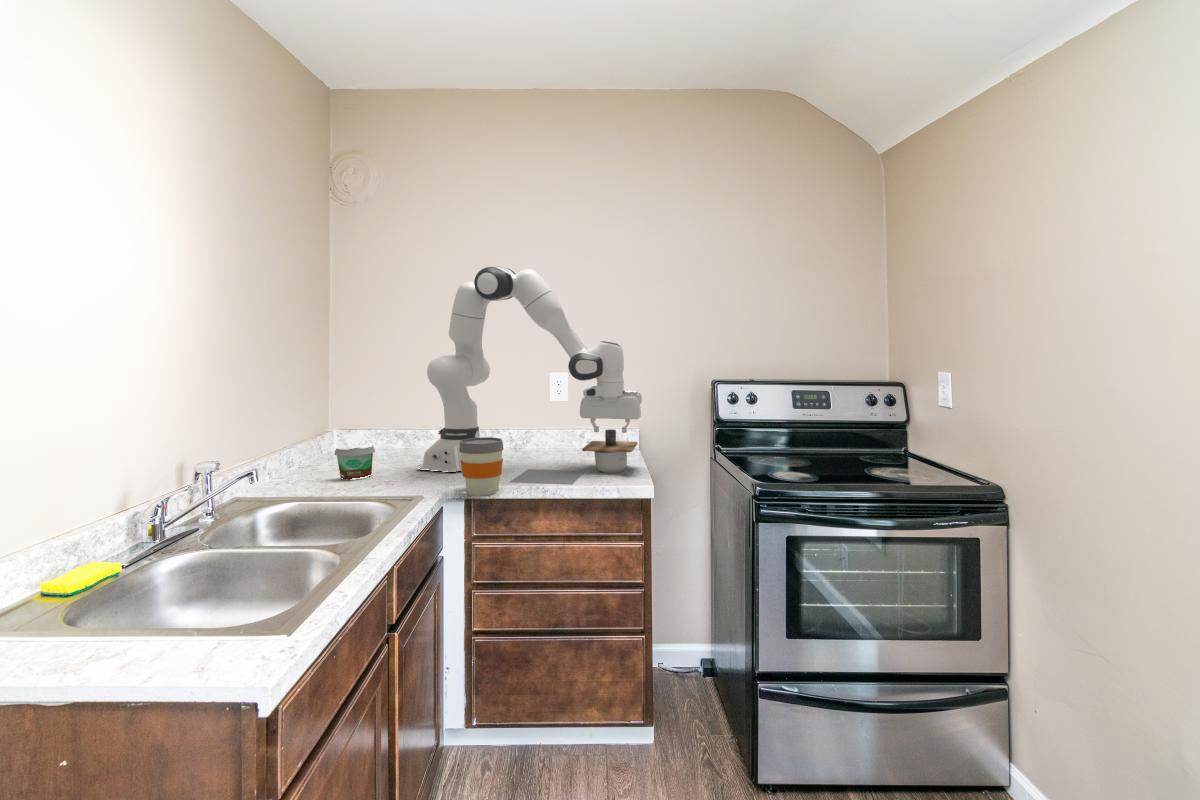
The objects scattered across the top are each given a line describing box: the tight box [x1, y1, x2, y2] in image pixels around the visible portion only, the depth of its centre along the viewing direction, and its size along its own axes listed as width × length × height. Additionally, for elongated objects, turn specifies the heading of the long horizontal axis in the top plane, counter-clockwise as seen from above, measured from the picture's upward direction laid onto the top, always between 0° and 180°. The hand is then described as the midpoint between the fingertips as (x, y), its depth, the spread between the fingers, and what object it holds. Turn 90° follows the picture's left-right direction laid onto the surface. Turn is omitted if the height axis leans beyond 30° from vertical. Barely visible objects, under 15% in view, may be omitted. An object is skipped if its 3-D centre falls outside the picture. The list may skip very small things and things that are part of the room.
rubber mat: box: [508, 468, 587, 486], centre depth 197 cm, size 20×20×1 cm
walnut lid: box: [581, 429, 638, 453], centre depth 205 cm, size 16×16×6 cm
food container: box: [334, 445, 376, 480], centre depth 198 cm, size 12×6×10 cm, turn 118°
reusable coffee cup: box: [459, 436, 504, 497], centre depth 178 cm, size 13×12×15 cm
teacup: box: [593, 451, 628, 474], centre depth 206 cm, size 14×11×8 cm
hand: (610, 432), depth 205 cm, fingers open, 8 cm apart
